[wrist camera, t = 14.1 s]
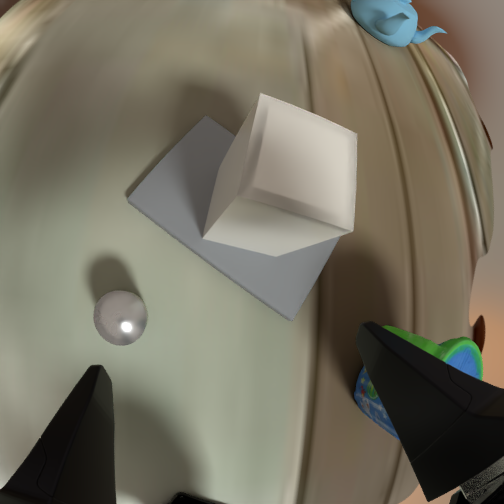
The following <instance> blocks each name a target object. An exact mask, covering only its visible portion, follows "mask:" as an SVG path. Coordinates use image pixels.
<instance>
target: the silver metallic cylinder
mask: <svg viewBox="0 0 504 504" xmlns="http://www.w3.org/2000/svg"><path fill="white" fill-rule="evenodd" d="M147 321H148V311H147V308H146V305H145V303H144V302H143V300H142V299H141V298H140V297H139V296H137V295H136V294H134V293H132V292H129V291H119V290H117V291H111V292H108V293H106V294H105V295H103V296H102V297H101V298H100V299H99V301H98V302H97V304H96V306H95V309H94V323H95V327H96V329H97V331H98V332H99V334H100V335H101V336H102V337H103V338H104V339H105V340H106V341H108V342H110V343H112V344H115V345H128V344H131V343H133V342H135V341H136V340H137V339H138V338H140V336H141V335H142V333H143V332H144V329H145V327H146V324H147Z"/></svg>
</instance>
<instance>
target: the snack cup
mask: <svg viewBox="0 0 504 504" xmlns="http://www.w3.org/2000/svg"><path fill="white" fill-rule="evenodd" d="M382 327H383V328H385V329H387V330H389V331H391V332H392V333H394V334H396V335H398V336H399V337H401V338H403V339H405V340H407V341H408V342H410V343H412V344H414V345H415V346H417V347H419V348H421V349H423V350H424V351H426V352H428V353H430V354H432V355H433V356H435V357H437V358H439V359H440V360H442V361H444V362H446V364H447V363H448V364H449V365H451V366H453V367H455V368H457V369H459V370H460V371H462V372H464V373H466V374H468V375H471V376H473V377H475V378H477V379H479V380H482V377H483V364H482V357H481V353H480V351H479V348H478V346H477V345H476V344H475V343H474V342H473V341H472V340H471V339H470V338H467V337H460V338H457V339H450V340H448V341H445V342H443V343H441V344H438V345H437V344H435V343H434V342H432V341H431V340H428V339H425V338H423V337H421V336H419V335H416V334H413V333H410V332H408V331H404V330H401V329H398V328H395V327H393V326H388V325H385V326H382ZM354 399H355V400H356V402H357V404H358V407H359V408H360V409H361V411H362V412H363V413H364V414H365V415H367V416H368V417H369V418H370V419H372V420H373V421H374V422H375V423H377V424H378V425H379V426H381V427H382V428H383V429H385V430H386V431H387V432H389V433H390V434H391V435H393V436H394V437H395V438H397V439H398V440H400V439H399V437H398V435H397V433H396V431H395V429H394V427H393V425H392V423H391V421H390V419H389V417H388V414H387V412H386V410H385V408H384V406H383V404H382V402H381V400H380V398H379V396H378V394H377V392H376V390H375V389H374V387H373V385H372V383H371V381H370V378H369V376H368V374H367V371H366V368H365V366H363V368H362V370H361V372H360V374H359V376H358V380H357V382H356V390H355V392H354Z"/></svg>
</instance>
